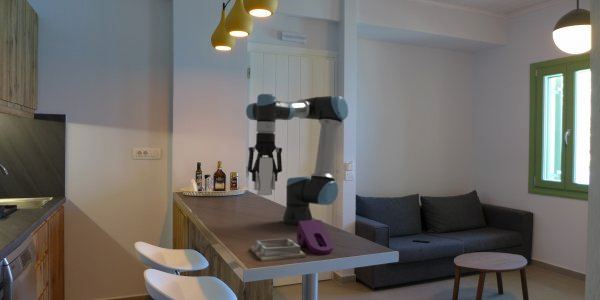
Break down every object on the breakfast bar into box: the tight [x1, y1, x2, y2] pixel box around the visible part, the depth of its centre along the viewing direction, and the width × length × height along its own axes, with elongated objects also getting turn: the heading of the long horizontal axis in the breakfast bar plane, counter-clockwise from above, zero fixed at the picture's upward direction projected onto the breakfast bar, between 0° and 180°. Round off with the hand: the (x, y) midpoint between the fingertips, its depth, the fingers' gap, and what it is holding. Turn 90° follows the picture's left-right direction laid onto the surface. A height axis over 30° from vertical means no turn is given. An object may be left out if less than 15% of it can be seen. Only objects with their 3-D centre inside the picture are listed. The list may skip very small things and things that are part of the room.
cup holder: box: [250, 237, 307, 262], centre depth 148 cm, size 16×16×4 cm
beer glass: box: [256, 156, 275, 196], centre depth 164 cm, size 7×7×15 cm
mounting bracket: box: [296, 219, 334, 255], centre depth 156 cm, size 10×8×18 cm
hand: (264, 189), depth 164 cm, fingers closed on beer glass, 6 cm apart
